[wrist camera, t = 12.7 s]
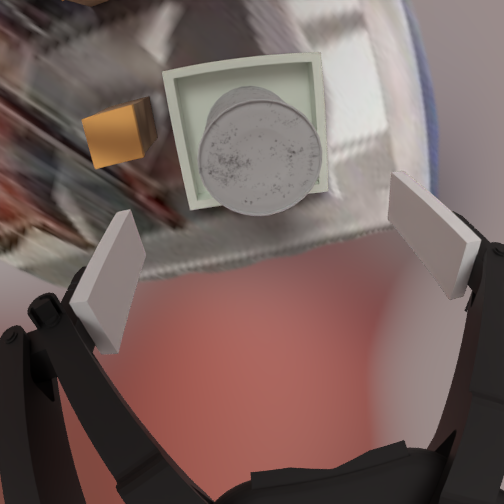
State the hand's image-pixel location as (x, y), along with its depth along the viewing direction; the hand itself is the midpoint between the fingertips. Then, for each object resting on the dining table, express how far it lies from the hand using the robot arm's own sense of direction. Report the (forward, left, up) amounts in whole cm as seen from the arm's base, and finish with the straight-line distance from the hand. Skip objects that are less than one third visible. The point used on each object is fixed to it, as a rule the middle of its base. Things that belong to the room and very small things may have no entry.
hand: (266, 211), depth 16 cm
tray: (+1, +1, -23) cm, 23 cm away
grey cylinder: (+1, +1, -22) cm, 22 cm away
